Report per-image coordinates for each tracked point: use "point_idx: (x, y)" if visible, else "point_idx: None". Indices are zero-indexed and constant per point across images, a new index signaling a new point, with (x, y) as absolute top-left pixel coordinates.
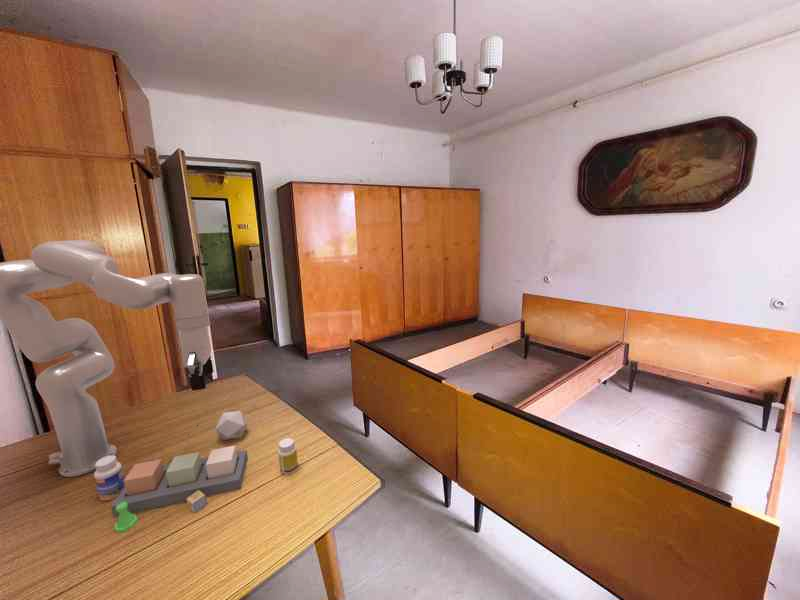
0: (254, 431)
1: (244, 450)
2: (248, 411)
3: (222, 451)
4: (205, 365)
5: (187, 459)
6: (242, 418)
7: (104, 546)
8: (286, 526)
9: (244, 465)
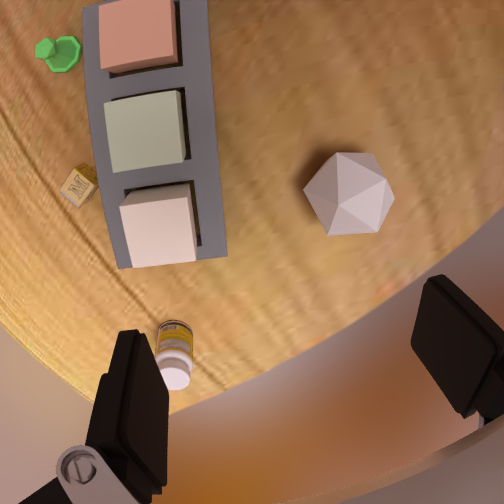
0: None
1: (225, 252)
2: (431, 198)
3: (173, 232)
4: (456, 361)
5: (151, 139)
6: (352, 233)
7: (27, 52)
8: (53, 340)
9: None
